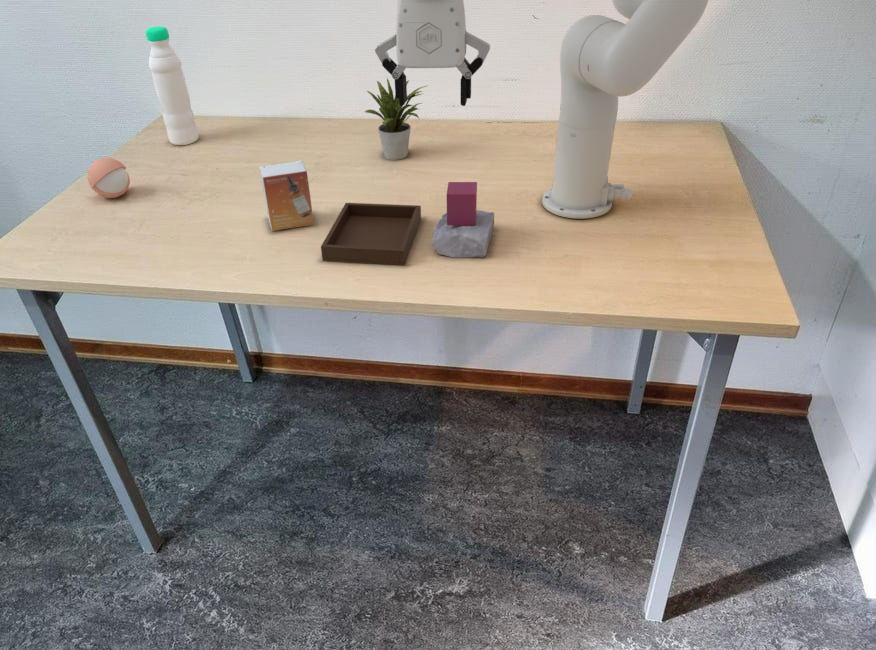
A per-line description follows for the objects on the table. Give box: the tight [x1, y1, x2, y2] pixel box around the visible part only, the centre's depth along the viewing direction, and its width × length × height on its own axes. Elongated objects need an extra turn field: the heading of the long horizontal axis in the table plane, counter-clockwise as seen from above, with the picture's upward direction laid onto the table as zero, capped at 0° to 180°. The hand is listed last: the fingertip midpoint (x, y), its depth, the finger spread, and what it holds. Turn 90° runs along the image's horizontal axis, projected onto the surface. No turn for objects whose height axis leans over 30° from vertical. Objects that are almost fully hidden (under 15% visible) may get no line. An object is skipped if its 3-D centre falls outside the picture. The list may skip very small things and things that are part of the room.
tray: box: [320, 202, 422, 267], centre depth 116 cm, size 14×17×3 cm
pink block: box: [446, 181, 478, 225], centre depth 111 cm, size 5×5×6 cm
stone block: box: [432, 209, 495, 259], centre depth 114 cm, size 12×5×10 cm
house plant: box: [364, 78, 429, 161], centre depth 140 cm, size 14×14×16 cm
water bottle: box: [145, 26, 200, 146], centre depth 152 cm, size 7×7×25 cm
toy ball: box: [87, 157, 131, 199], centre depth 134 cm, size 8×8×8 cm
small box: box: [258, 159, 315, 232], centre depth 120 cm, size 8×6×10 cm
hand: (433, 103), depth 104 cm, fingers open, 9 cm apart
